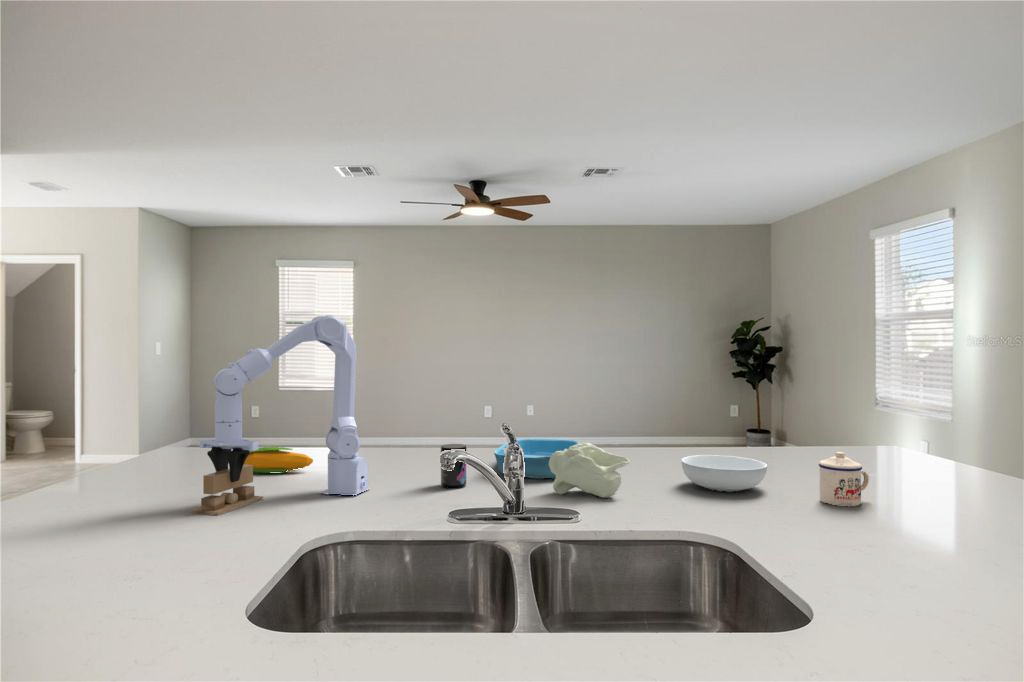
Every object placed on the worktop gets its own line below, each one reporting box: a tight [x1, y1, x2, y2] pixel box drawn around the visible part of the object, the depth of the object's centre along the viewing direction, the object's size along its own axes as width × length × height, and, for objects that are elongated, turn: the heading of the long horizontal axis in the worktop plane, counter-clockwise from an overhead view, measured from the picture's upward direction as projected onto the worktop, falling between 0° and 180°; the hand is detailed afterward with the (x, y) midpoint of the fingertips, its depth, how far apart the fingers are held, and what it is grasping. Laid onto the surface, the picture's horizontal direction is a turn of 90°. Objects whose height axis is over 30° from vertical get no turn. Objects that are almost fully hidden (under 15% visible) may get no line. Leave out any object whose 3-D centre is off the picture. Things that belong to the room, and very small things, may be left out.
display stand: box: [191, 485, 264, 516], centre depth 148 cm, size 7×15×3 cm, turn 163°
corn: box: [244, 446, 314, 474], centre depth 185 cm, size 7×8×20 cm
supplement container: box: [440, 443, 468, 490], centre depth 168 cm, size 7×7×10 cm
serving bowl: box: [680, 454, 768, 493], centre depth 166 cm, size 21×21×7 cm
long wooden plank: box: [202, 465, 254, 495], centre depth 148 cm, size 3×13×4 cm, turn 163°
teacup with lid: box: [818, 451, 870, 508], centre depth 152 cm, size 12×9×12 cm
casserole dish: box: [493, 437, 580, 479], centre depth 190 cm, size 37×22×7 cm, turn 168°
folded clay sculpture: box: [549, 442, 631, 499], centre depth 160 cm, size 18×13×16 cm
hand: (228, 480), depth 148 cm, fingers closed on long wooden plank, 3 cm apart
